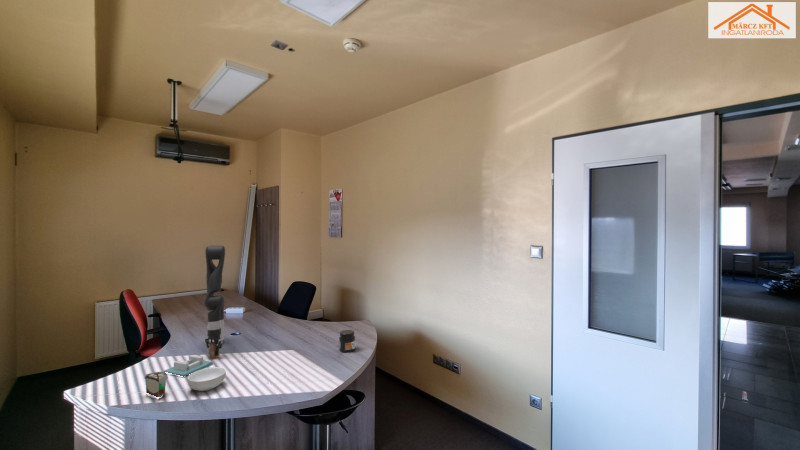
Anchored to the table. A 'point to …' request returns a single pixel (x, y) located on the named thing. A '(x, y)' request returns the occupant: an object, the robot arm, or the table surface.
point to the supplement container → (347, 341)
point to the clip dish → (205, 364)
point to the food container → (156, 383)
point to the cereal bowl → (206, 378)
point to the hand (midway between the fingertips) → (214, 355)
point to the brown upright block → (212, 351)
